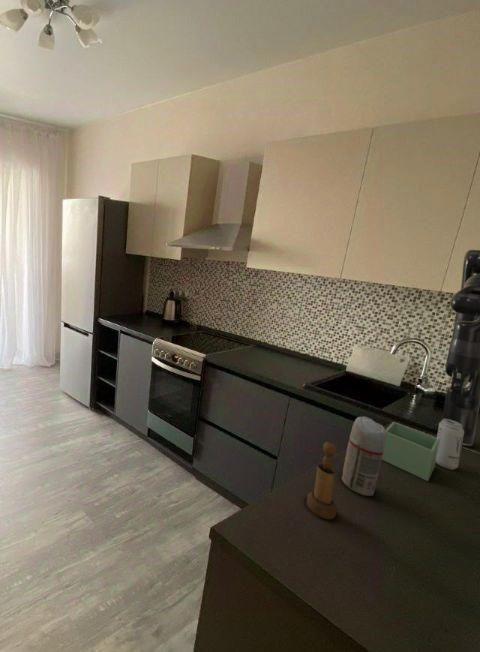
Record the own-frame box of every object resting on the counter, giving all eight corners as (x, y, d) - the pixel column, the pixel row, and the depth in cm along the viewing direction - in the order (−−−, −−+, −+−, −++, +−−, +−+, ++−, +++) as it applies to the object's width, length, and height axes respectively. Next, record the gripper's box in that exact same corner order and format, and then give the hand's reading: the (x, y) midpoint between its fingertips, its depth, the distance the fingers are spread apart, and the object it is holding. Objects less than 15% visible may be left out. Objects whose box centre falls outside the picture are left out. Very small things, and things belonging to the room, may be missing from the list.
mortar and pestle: (301, 498, 90) (310, 435, 88) (323, 499, 90) (332, 436, 89) (317, 519, 83) (328, 451, 82) (341, 520, 84) (352, 452, 82)
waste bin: (388, 447, 120) (393, 421, 119) (434, 467, 111) (439, 439, 110) (379, 458, 112) (384, 431, 112) (428, 481, 103) (433, 451, 102)
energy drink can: (452, 472, 109) (459, 428, 108) (429, 460, 114) (436, 418, 113) (461, 468, 111) (468, 426, 110) (438, 457, 117) (445, 416, 116)
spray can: (371, 483, 99) (382, 419, 98) (379, 502, 92) (391, 433, 90) (338, 472, 102) (348, 410, 101) (344, 489, 95) (354, 423, 94)
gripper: (479, 359, 103) (470, 410, 104) (482, 353, 112) (474, 400, 113) (446, 352, 109) (437, 399, 110) (451, 346, 118) (444, 390, 119)
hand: (456, 399), depth 111 cm, fingers open, 8 cm apart
